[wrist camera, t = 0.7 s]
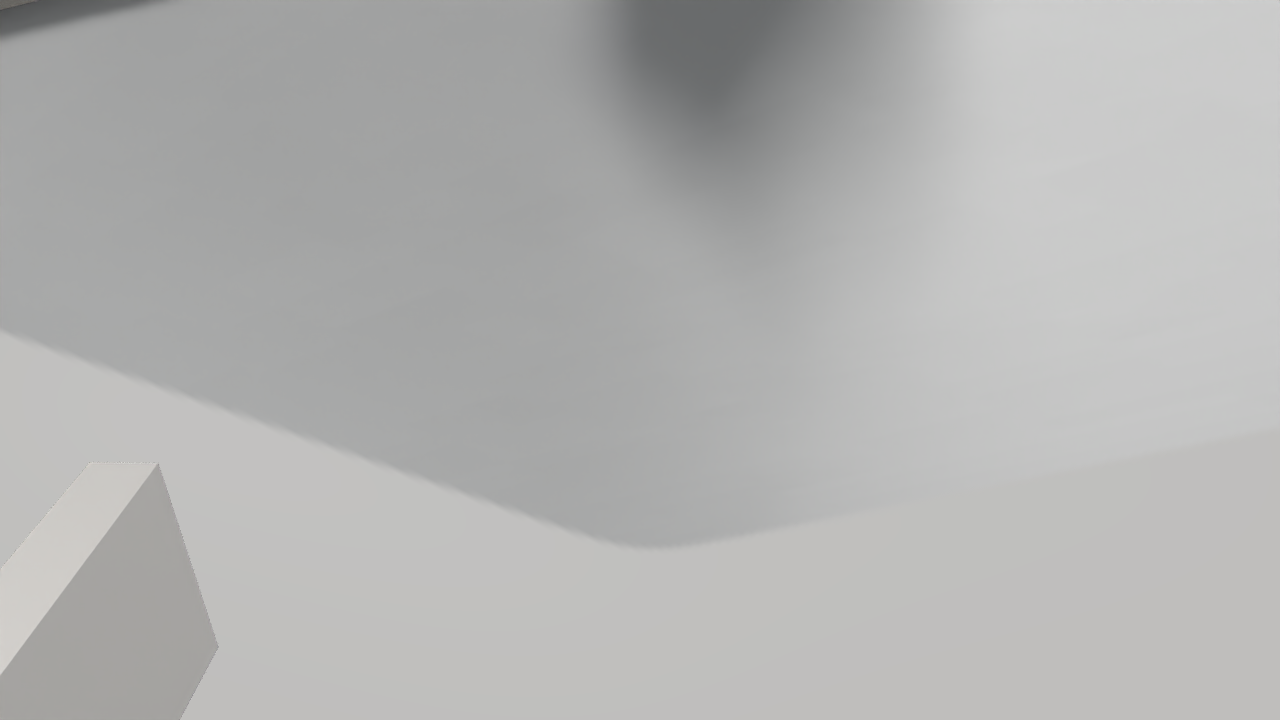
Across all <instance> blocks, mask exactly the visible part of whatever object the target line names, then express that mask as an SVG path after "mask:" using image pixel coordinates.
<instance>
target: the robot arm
mask: <svg viewBox="0 0 1280 720" xmlns="http://www.w3.org/2000/svg"><path fill="white" fill-rule="evenodd" d="M217 649H218V644H217V641H216V638H215V635H214V632H213V629H212V626H211V623H210V620H209V617H208V613H207V610H206V607H205V604H204V601H203V599H202V595H201V592H200V590H199V586H198V583H197V580H196V577H195V574H194V571H193V568H192V565H191V561H190V558H189V556H188V552H187V550H186V547H185V543H184V540H183V537H182V534H181V531H180V528H179V525H178V522H177V519H176V516H175V513H174V510H173V507H172V503H171V500H170V497H169V494H168V491H167V488H166V485H165V482H164V479H163V476H162V473H161V470H160V467H159V464H158V463H107V462H106V463H105V462H102V463H101V462H90V463H89V464H88V465H87V466H86V467H85V469H84V470H83V471H82V472H81V473H80V474H79V476H78V477H77V478H76V479H75V480H74V482H73V483H72V484H71V485H70V486H69V488H68V489H67V490H66V491H65V492H64V493H63V495H62V496H61V497H60V498H59V499H58V501H57V502H56V503H55V504H54V505H53V507H52V508H51V509H50V510H49V511H48V513H47V514H46V515H45V516H44V517H43V519H42V520H41V521H40V522H39V523H38V524H37V526H36V527H35V528H34V529H33V530H32V532H31V533H30V534H29V535H28V536H27V538H26V539H25V540H24V541H23V542H22V544H21V545H20V546H19V547H18V548H17V550H16V551H15V552H14V553H13V555H11V557H10V558H9V559H8V560H7V562H6V563H5V564H4V565H3V566H2V567H1V569H0V720H180V718H181V717H182V715H183V713H184V711H185V709H186V707H187V705H188V703H189V701H190V700H191V698H192V696H193V694H194V692H195V690H196V688H197V686H198V684H199V683H200V681H201V679H202V677H203V675H204V673H205V671H206V669H207V668H208V666H209V664H210V662H211V660H212V658H213V656H214V654H215V653H216V651H217Z"/></svg>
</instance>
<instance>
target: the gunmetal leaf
mask: <svg viewBox="0 0 1280 720" xmlns="http://www.w3.org/2000/svg"><path fill="white" fill-rule="evenodd" d="M35 1H39V0H0V10H2V9H6V8H10V7H15V6H19V5H23V4H27V3H31V2H35Z"/></svg>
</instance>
